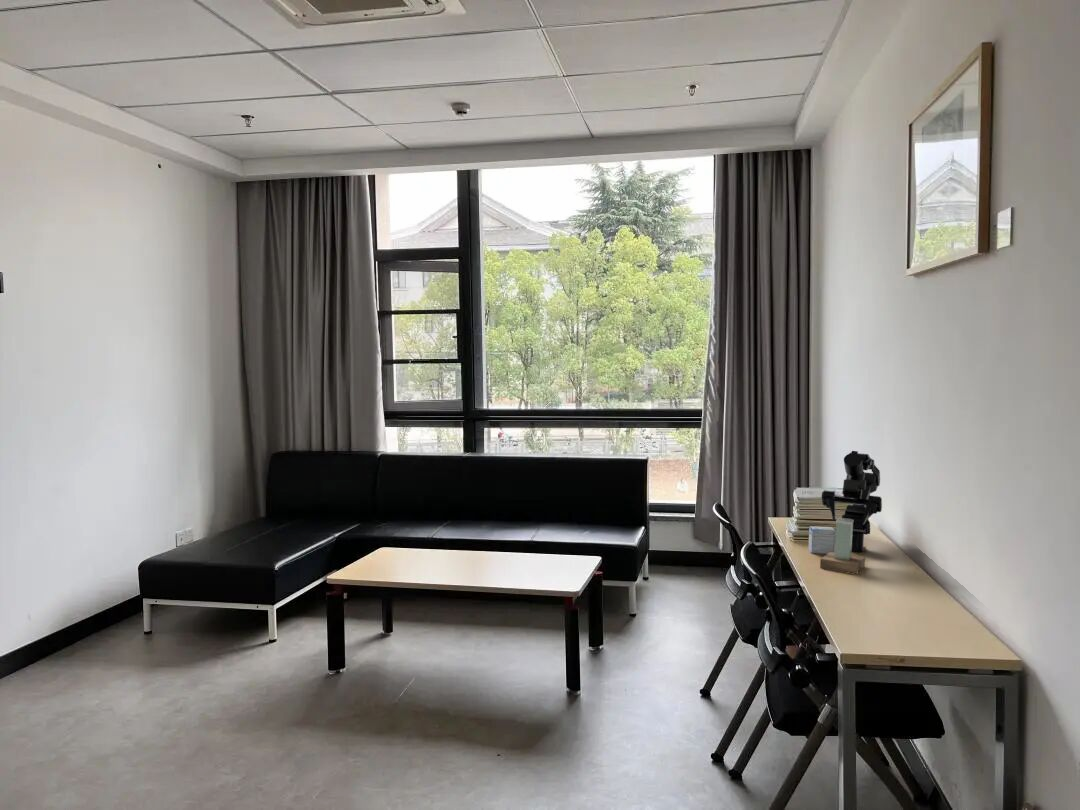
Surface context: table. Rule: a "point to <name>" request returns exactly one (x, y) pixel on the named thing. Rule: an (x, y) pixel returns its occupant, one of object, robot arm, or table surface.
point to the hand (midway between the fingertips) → (848, 522)
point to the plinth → (842, 563)
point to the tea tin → (843, 538)
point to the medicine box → (821, 540)
